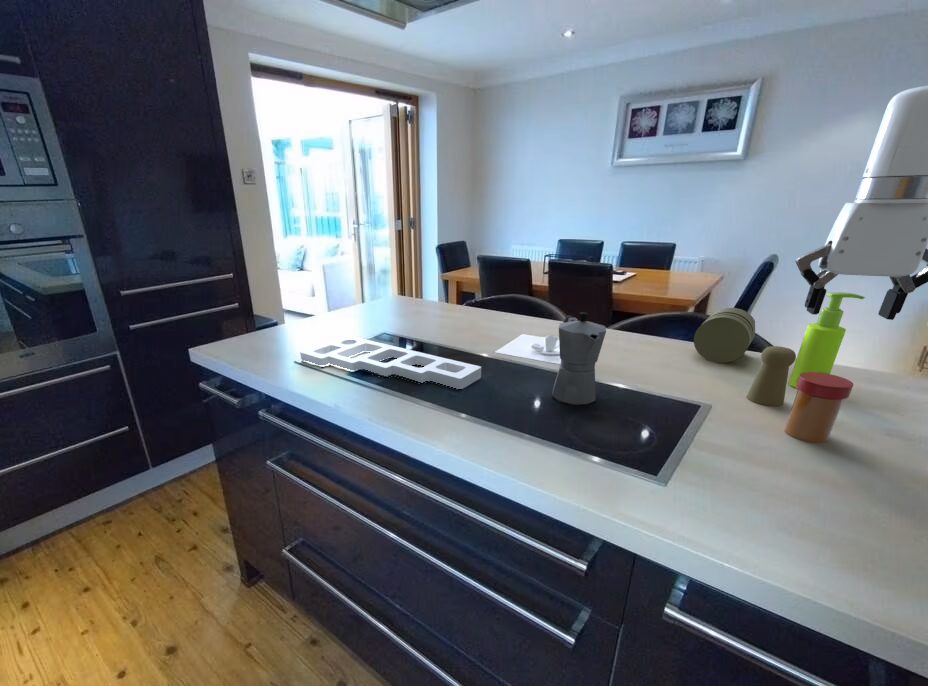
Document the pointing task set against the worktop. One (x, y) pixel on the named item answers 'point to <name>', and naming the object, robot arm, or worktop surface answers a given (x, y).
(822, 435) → the jam jar
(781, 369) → the cork
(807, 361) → the soap dispenser
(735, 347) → the piston
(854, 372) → the worktop surface
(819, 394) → the jam lid
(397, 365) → the holder
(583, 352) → the coffeepot
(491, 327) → the worktop surface
